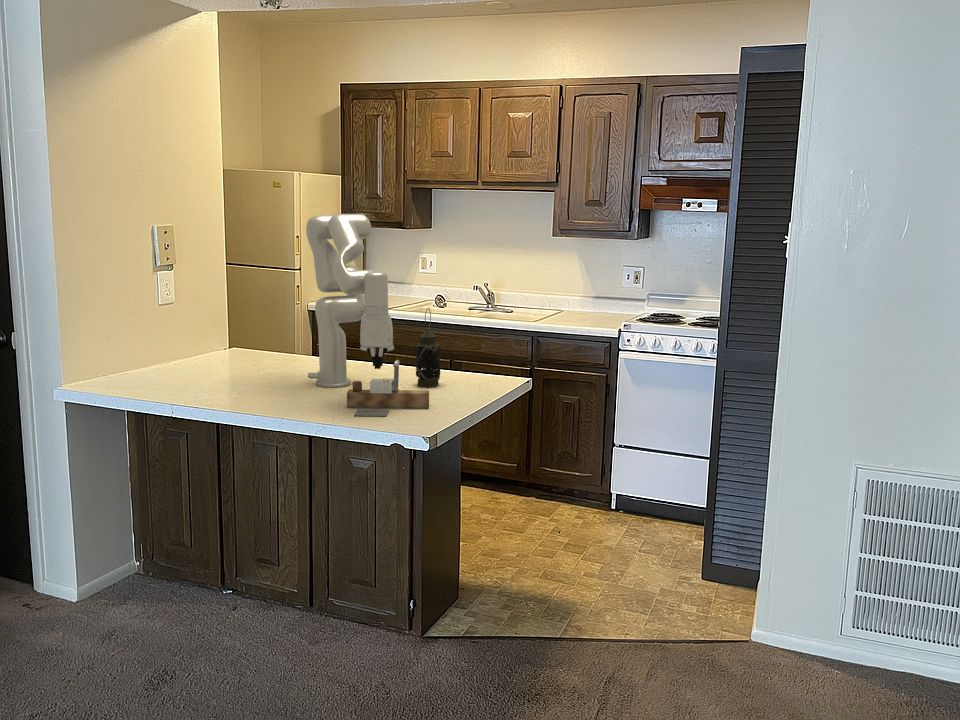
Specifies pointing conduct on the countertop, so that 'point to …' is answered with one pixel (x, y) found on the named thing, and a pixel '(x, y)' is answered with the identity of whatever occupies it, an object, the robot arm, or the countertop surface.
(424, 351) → the lantern
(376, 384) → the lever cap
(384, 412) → the mat
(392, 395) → the plane body
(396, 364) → the lever
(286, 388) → the countertop surface
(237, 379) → the countertop surface
